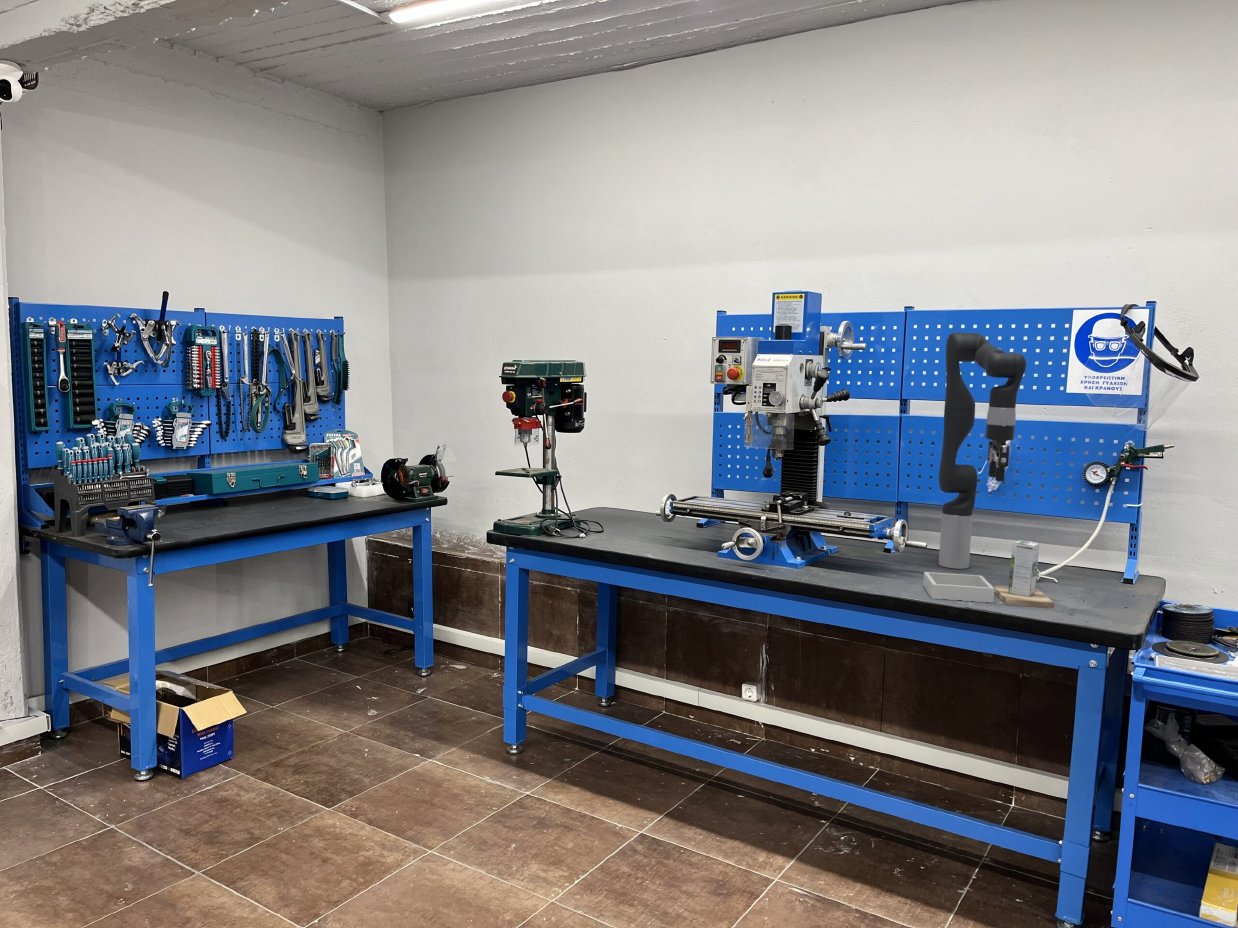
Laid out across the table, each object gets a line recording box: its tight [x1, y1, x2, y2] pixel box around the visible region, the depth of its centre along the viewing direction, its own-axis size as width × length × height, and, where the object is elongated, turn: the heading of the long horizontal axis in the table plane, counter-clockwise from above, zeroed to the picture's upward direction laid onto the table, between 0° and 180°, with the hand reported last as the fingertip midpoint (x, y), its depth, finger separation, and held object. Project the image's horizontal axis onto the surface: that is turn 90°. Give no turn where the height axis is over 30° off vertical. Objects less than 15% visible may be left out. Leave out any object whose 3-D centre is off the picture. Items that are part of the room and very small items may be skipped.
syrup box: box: [1008, 540, 1040, 597], centre depth 243 cm, size 6×6×14 cm
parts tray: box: [922, 571, 995, 604], centre depth 247 cm, size 16×16×4 cm
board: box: [992, 585, 1055, 609], centre depth 243 cm, size 16×12×2 cm
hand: (996, 479), depth 252 cm, fingers open, 8 cm apart
